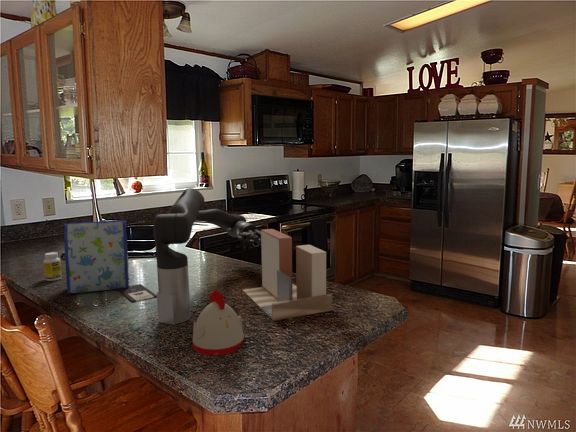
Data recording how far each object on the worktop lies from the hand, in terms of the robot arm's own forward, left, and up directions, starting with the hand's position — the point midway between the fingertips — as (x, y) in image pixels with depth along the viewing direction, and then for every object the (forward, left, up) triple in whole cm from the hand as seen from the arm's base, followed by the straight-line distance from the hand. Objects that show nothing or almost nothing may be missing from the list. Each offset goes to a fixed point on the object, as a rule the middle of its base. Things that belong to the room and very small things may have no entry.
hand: (261, 239), depth 166 cm
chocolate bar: (-27, +39, -19) cm, 51 cm away
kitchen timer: (-52, -12, -18) cm, 56 cm away
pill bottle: (-25, +85, -18) cm, 90 cm away
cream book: (-17, -27, -17) cm, 36 cm away
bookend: (-27, -18, -17) cm, 37 cm away
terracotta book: (-11, -11, -17) cm, 23 cm away
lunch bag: (-26, +58, -18) cm, 66 cm away
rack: (-16, -16, -18) cm, 29 cm away
